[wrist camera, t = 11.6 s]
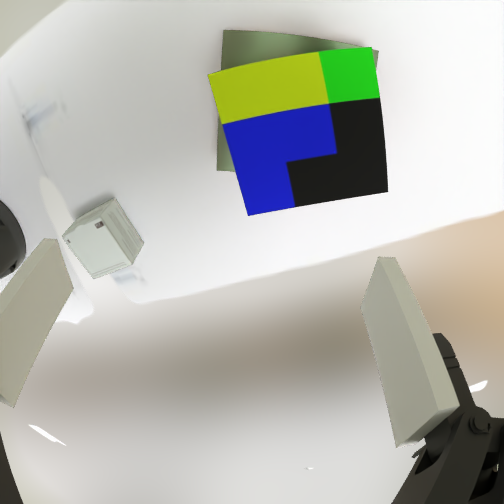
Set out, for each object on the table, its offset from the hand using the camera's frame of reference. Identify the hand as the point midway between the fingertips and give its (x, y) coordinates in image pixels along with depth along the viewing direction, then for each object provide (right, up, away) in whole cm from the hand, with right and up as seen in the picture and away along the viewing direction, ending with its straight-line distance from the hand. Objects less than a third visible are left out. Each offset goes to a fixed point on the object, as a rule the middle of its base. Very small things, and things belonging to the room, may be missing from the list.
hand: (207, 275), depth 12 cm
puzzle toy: (+6, +14, +15) cm, 21 cm away
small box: (-18, +4, +29) cm, 34 cm away
